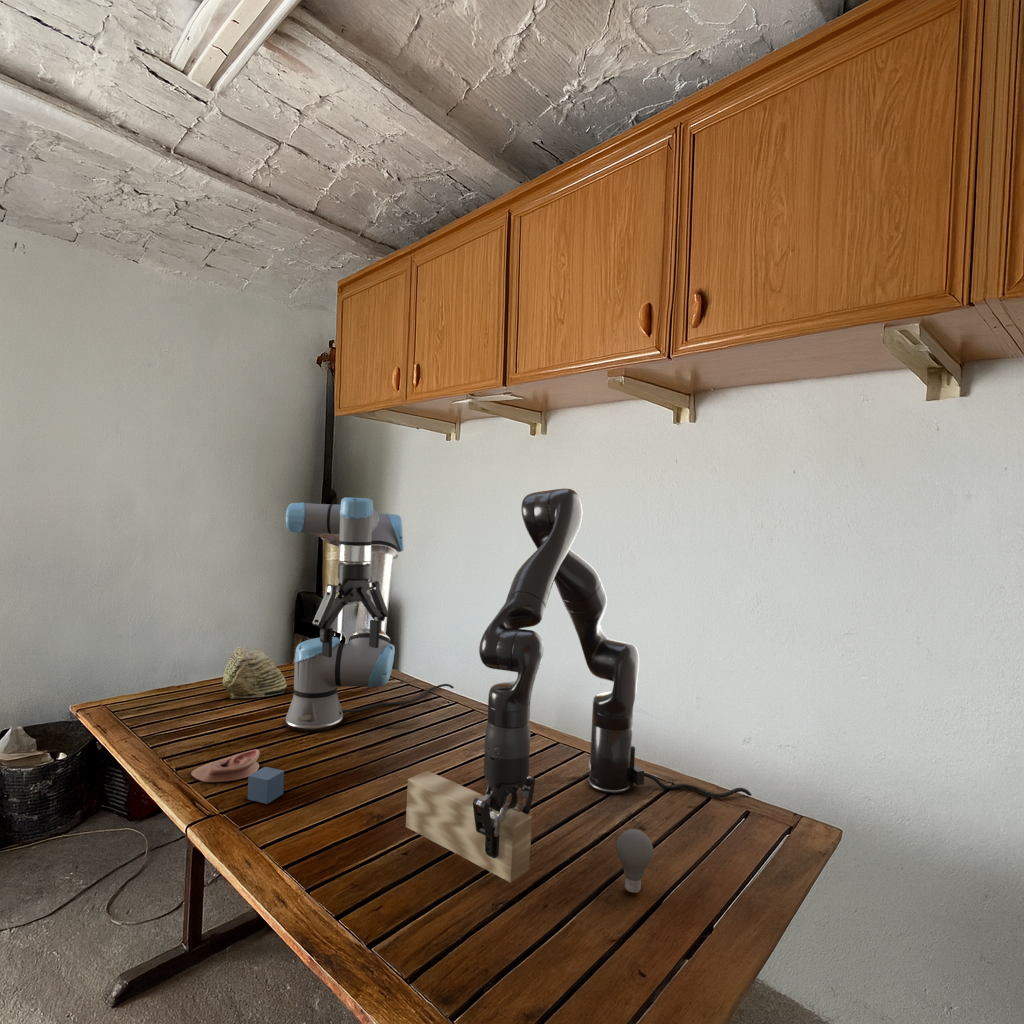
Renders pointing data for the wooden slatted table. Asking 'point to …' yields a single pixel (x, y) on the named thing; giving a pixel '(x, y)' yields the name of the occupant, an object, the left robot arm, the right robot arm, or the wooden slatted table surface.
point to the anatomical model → (229, 768)
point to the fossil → (252, 674)
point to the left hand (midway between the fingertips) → (351, 651)
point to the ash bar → (466, 825)
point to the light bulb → (634, 857)
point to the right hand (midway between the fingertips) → (502, 848)
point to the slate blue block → (265, 785)
